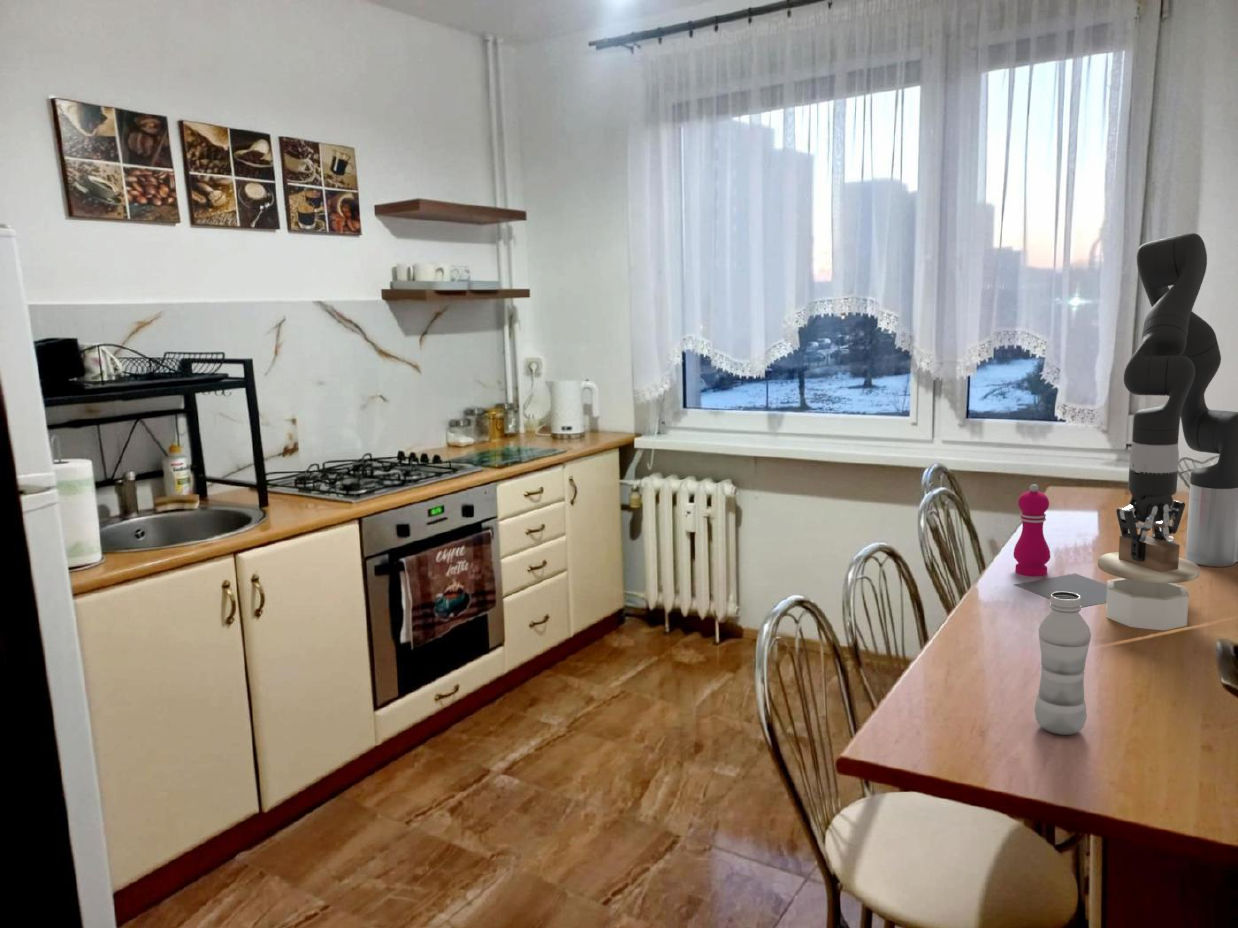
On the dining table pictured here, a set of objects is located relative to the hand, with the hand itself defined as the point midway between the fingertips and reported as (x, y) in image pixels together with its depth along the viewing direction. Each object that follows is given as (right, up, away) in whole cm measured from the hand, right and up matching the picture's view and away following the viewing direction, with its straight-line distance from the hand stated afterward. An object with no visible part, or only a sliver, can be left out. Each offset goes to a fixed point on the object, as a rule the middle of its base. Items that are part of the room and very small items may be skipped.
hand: (1147, 558), depth 160 cm
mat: (-4, -9, +18) cm, 20 cm away
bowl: (+1, -11, +2) cm, 12 cm away
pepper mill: (-7, -7, +30) cm, 32 cm away
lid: (0, -2, 0) cm, 2 cm away
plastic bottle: (-34, -21, -36) cm, 54 cm away
